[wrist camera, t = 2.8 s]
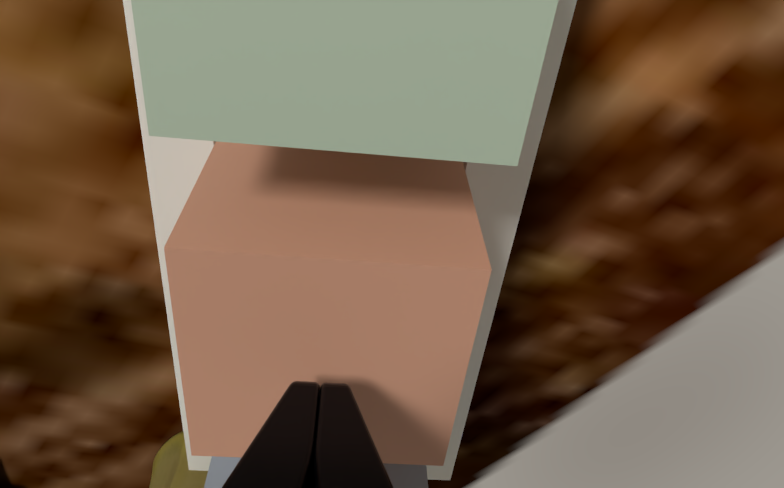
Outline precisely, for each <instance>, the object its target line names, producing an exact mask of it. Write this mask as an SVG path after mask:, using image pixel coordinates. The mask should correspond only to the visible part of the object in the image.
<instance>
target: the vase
mask: <svg viewBox="0 0 784 488" xmlns="http://www.w3.org/2000/svg"><path fill="white" fill-rule="evenodd" d="M207 473H208V471H199V470H189V468H188V461H187V454H186V447H185V439H184V432H183V431H182V432H180V433H178V434H176V435H174V436H173V437H172V438H170V439H169V440H168V441H167V442H166V443H165V444H164V445H163V446H162V447H161V449H160V450H159V451H158V453H157V454H156V456H155V458H154V462H153V468H152V476H151V482H150V486H149V488H204V485H205V481H206V477H207Z"/></svg>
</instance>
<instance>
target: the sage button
mask: <svg viewBox="0 0 784 488" xmlns="http://www.w3.org/2000/svg"><path fill="white" fill-rule="evenodd" d="M131 4H132V12H133V19H134V27H135V34H136V42H137V49H138V57H139V64H140V72H141V79H142V87H143V94H144V102H145V109H146V117H147V124H148V132H149V136H157V137H169V138H181V139H193V140H205V141H217V142H229V143H242V144H254V145H266V146H278V147H290V148H302V149H314V150H326V151H338V152H351V153H363V154H375V155H387V156H399V157H411V158H423V159H435V160H448V161H460V162H472V163H484V164H496V165H508V166H518V162H519V158H520V154H521V150H522V146H523V142H524V138H525V134H526V129H527V125H528V121H529V117H530V113H531V109H532V105H533V101H534V97H535V93H536V89H537V85H538V81H539V77H540V73H541V69H542V65H543V61H544V57H545V53H546V49H547V45H548V41H549V37H550V33H551V28H552V24H553V20H554V16H555V12H556V8H557V4H558V0H131Z"/></svg>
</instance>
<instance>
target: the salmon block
mask: <svg viewBox="0 0 784 488" xmlns="http://www.w3.org/2000/svg"><path fill="white" fill-rule="evenodd" d="M164 252H165V260H166V267H167V275H168V282H169V290H170V297H171V305H172V312H173V320H174V327H175V335H176V342H177V350H178V357H179V365H180V373H181V380H182V388H183V395H184V403H185V410H186V418H187V425H188V433H189V440H190V448H191V455H192V456H216V457H240V458H242V456H243V455H244V453H245V452H246V450H247V449H248V447H249V445H250V444H251V442H252V441H253V439H254V438H255V436H256V435H257V433H258V432H259V430H260V429H261V427H262V426H263V424H264V423H265V421H266V420H267V418H268V417H269V415H270V414H271V412H272V411H273V409H274V408H275V406H276V405H277V403H278V402H279V400H280V399H281V397H282V396H283V394H284V393H285V391H286V390H287V388H288V387H289V385H290V384H291V383H292V382H294V381H308V382H317V383H318V384H319V385H320V387H321V385H322V384H323V383H326V382H328V383H345V384H348V385H349V387H350V388H351V390H352V392H353V395H354V397H355V399H356V402H357V404H358V406H359V409H360V411H361V413H362V416H363V418H364V420H365V423H366V425H367V427H368V429H369V432H370V434H371V436H372V439H373V441H374V443H375V446H376V448H377V450H378V453H379V455H380V457H381V460H382V462H383V463H386V464H410V465H434V466H443V465H444V461H445V457H446V453H447V449H448V445H449V441H450V436H451V432H452V428H453V424H454V420H455V416H456V412H457V408H458V404H459V400H460V396H461V392H462V388H463V384H464V380H465V376H466V372H467V368H468V364H469V360H470V356H471V352H472V348H473V344H474V340H475V335H476V331H477V327H478V323H479V319H480V315H481V311H482V307H483V303H484V299H485V295H486V291H487V287H488V283H489V279H490V275H491V271H492V269H491V265H490V262H489V258H488V254H487V250H486V247H485V243H484V239H483V235H482V232H481V228H480V224H479V221H478V217H477V213H476V209H475V206H474V202H473V198H472V194H471V191H470V187H469V183H468V179H467V176H466V172H465V168H464V164H463V162H460V161H448V160H435V159H423V158H411V157H399V156H387V155H375V154H363V153H351V152H338V151H326V150H314V149H302V148H290V147H278V146H266V145H254V144H242V143H229V142H217V141H216V143H215V145H214V147H213V149H212V151H211V153H210V155H209V157H208V159H207V161H206V163H205V165H204V167H203V169H202V171H201V173H200V175H199V177H198V179H197V181H196V183H195V185H194V187H193V189H192V191H191V193H190V196H189V198H188V200H187V202H186V204H185V206H184V208H183V210H182V212H181V214H180V216H179V218H178V220H177V222H176V224H175V226H174V228H173V230H172V232H171V234H170V236H169V238H168V240H167V242H166V244H165V246H164Z"/></svg>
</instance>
